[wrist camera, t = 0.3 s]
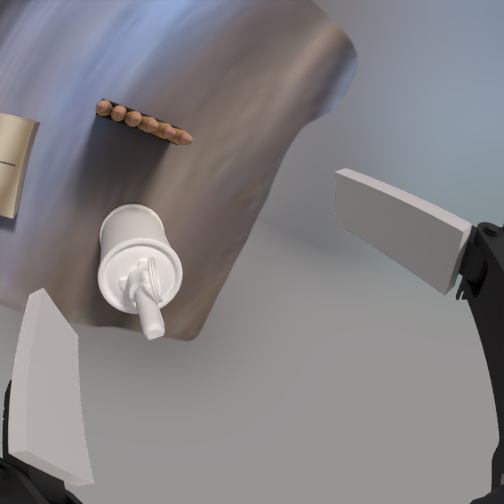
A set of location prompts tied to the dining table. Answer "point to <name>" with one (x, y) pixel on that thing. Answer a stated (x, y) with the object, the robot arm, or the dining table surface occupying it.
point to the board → (14, 159)
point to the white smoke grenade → (138, 265)
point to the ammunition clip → (142, 122)
